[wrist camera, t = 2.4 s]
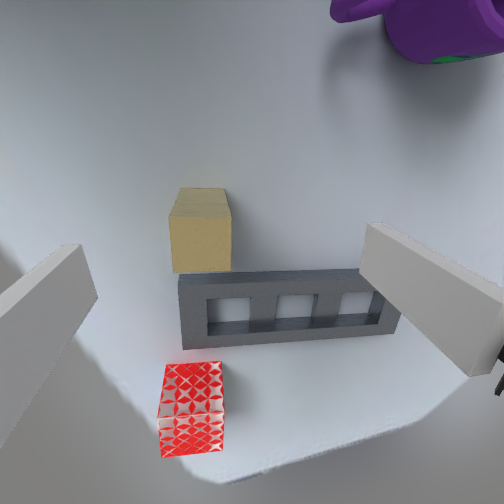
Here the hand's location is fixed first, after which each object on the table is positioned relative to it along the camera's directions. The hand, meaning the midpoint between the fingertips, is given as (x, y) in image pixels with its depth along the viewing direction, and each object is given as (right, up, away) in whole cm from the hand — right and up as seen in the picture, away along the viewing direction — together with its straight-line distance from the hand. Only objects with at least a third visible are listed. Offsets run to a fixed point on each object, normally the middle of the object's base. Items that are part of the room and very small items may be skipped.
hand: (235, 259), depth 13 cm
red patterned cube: (-8, -19, +28) cm, 35 cm away
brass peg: (-5, +5, +17) cm, 18 cm away
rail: (+7, -6, +24) cm, 26 cm away
